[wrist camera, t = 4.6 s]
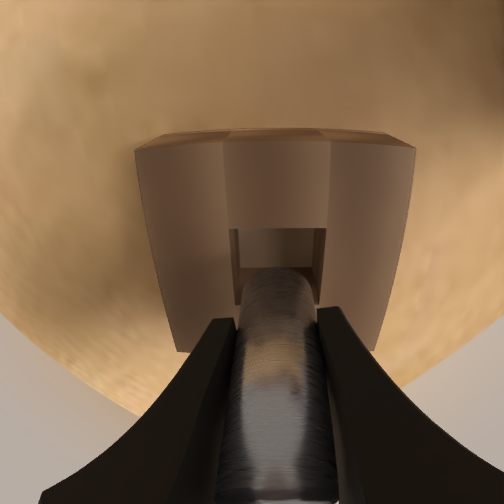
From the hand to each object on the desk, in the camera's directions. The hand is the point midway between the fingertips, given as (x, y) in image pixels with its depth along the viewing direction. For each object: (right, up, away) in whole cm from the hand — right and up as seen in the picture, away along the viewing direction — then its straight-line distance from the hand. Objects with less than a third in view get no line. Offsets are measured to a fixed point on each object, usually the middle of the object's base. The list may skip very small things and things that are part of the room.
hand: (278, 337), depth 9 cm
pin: (0, +1, +2) cm, 2 cm away
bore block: (0, +4, +6) cm, 7 cm away
